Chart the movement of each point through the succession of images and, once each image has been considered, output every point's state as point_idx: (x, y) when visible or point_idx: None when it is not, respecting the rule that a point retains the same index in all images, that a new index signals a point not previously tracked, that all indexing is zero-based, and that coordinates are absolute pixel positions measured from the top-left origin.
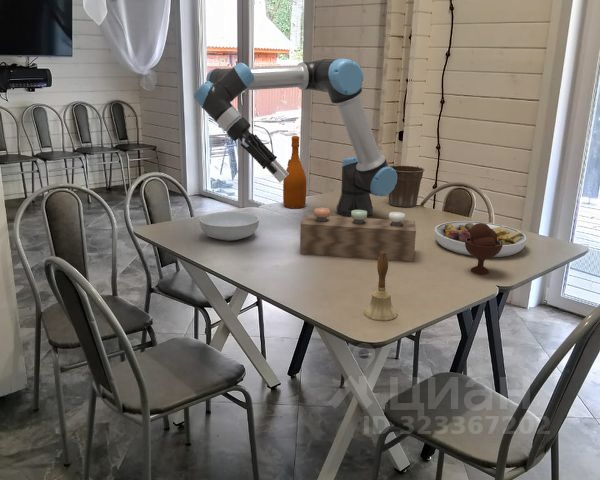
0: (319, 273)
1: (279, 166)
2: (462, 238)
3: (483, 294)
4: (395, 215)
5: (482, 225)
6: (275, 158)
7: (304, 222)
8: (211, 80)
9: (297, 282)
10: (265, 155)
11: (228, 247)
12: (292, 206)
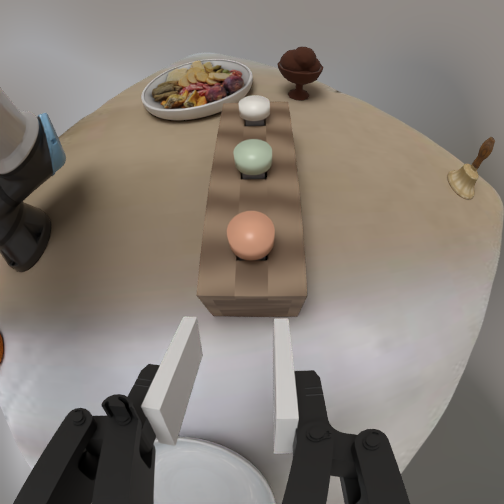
0: (392, 260)
1: (178, 373)
2: (239, 85)
3: (366, 103)
4: (268, 104)
5: (309, 48)
6: (133, 407)
7: (289, 288)
8: None
9: (437, 286)
10: (290, 492)
11: (285, 478)
12: (1, 352)
